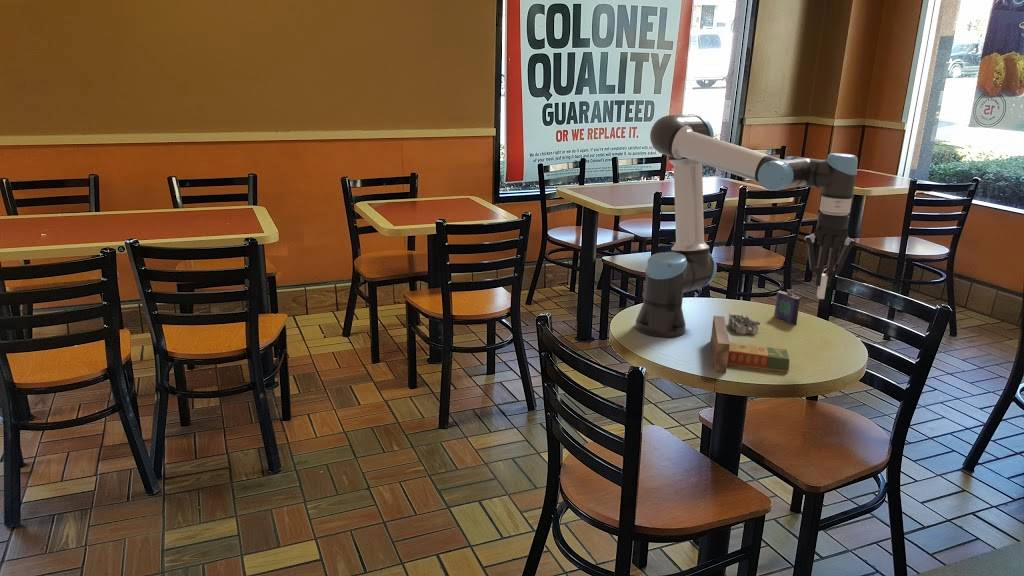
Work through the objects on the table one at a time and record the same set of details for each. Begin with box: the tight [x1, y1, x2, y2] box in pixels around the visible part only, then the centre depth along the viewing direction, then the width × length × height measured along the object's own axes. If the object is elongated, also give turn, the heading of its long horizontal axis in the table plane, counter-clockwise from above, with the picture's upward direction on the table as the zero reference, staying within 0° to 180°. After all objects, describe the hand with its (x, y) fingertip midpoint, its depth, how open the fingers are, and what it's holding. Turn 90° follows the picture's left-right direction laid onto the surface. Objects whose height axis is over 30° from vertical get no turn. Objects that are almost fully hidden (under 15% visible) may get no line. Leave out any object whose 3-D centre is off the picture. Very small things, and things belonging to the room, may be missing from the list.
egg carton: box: [727, 313, 761, 335], centre depth 231 cm, size 11×8×4 cm
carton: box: [727, 341, 790, 373], centre depth 203 cm, size 8×16×4 cm, turn 75°
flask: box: [773, 289, 801, 326], centre depth 239 cm, size 9×3×11 cm, turn 24°
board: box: [710, 315, 730, 373], centre depth 207 cm, size 3×24×8 cm, turn 168°
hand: (820, 297), depth 202 cm, fingers closed
